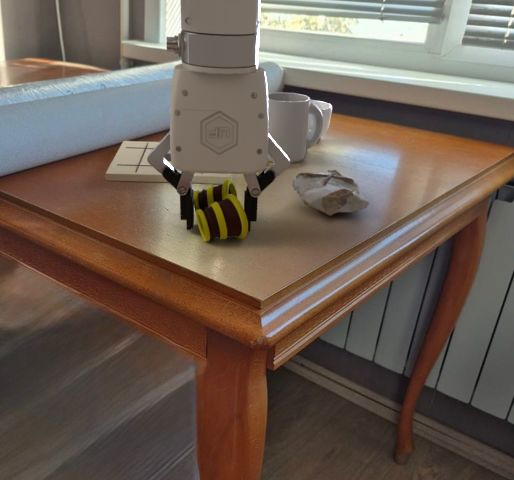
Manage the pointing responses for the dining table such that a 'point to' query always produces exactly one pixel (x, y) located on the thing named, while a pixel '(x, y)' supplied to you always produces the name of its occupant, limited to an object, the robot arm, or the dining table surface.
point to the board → (148, 166)
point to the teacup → (326, 115)
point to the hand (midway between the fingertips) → (218, 225)
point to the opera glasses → (220, 212)
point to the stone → (329, 192)
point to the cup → (293, 123)
